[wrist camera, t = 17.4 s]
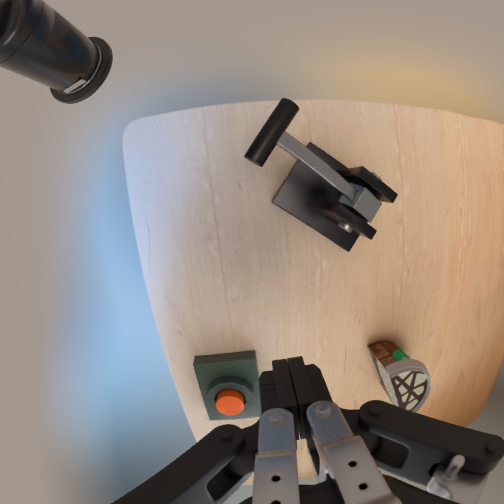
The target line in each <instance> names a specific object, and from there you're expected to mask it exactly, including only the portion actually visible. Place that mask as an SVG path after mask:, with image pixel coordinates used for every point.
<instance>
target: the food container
mask: <svg viewBox="0 0 504 504" xmlns="http://www.w3.org/2000/svg"><path fill="white" fill-rule="evenodd" d="M367 347H368V349H369V352H370V355H371V358H372V360H373V363H374V366H375V369H376V372H377V375H378V378H379V381H380V383H381V385H382V387H383V388H384V390H385V392H386V393H387V395H388V397H389V398H390V400H391V402H392V403H393V405H395V406H398V407H401V408H403V409H406V410H409V411H412V412H415V413H416V412H417V411H418V410H419V409H420V408H421V407H422V405H423V404H424V403H425V401H426V399H427V397H428V395H429V393H430V389H431V381H430V375H429V373H428V371H427V368H426V367H425V365H424V364H423V363H422V362H420V361H418V360H414V359H411V358H410V357H409V356H407V355H406V354H405V353H404V352H403V351H402V350H401V349H400V348H399V347H397V346H396V345H395V344H394V343H392V342H389V341H379V342H375V343H372V344H370V345H368V346H367Z"/></svg>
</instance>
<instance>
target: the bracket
mask: <svg viewBox="0 0 504 504" xmlns="http://www.w3.org/2000/svg"><path fill="white" fill-rule="evenodd" d="M306 148H308V149H309V150H310V151H311V152H313V153H314V154H315V155H316V156H318V157H319V158H320V159H321V160H323V161H324V162H325V163H326V164H327V165H329V166H330V167H331V168H332V169H333V170H334V171H336V172H337V173H338V174H339V175H340V176H341V177H343V178H344V179H345V180H346V181H347V182H348V183H353V184H356V185H359V186H362V187H365V188H367V189H368V190H369V191H370V192H371V193H372V194H373V195H374V196H375V197H376V198H377V199H378V200H379V201H382V202H389V203H393V202H394V201H395V199H396V197H397V195H398V194H397V193H396V192H394V191H393V190H392V189H391V188H390V187H388V186H387V185H386V184H385V183H383V182H382V181H381V178H380V177H379V176H377V175H376V174H374V173H371V172H370V171H368V170H367V169H366V168H364V167H363V166H362V167H355V168H349V169H348V168H347V167H346V166H344V165H343V164H341V163H340V162H339V161H337V160H336V159H334V158H333V157H331V156H330V155H329V154H327V153H326V152H324V151H323V150H321V149H320V148H318V147H317V146H315V145H314V144H312V143H311V142H309V143H308V144H307V146H306ZM341 196H342V195H341V194H340V193H339V192H338V191H336V190H335V189H334V188H333V187H332V186H330V185H329V184H328V183H327V182H325V181H324V180H323V179H322V178H320V177H319V176H318V175H316V174H315V173H314V172H313V171H311V170H310V169H309V168H307V167H306V166H305V165H303V164H302V163H301V162H299V161H298V160H297V161H296V163H295V165H294V166H293V168H292V169H291V171H290V173H289V174H288V176H287V177H286V179H285V181H284V182H283V184H282V185H281V187H280V189H279V190H278V192H277V193H276V195H275V197H274V198H273V200H272V203H274V204H276V205H277V206H279V207H280V208H282V209H284V210H285V211H287V212H288V213H290V214H291V215H293V216H295V217H296V218H298V219H299V220H301V221H302V222H304V223H306V224H307V225H309V226H310V227H312V228H313V229H315V230H316V231H318V232H319V233H321V234H322V235H324V236H325V237H327V238H328V239H330V240H331V241H333V242H334V243H336V244H337V245H339V246H340V247H342V248H343V249H345V250H346V251H348V252H349V251H350V249H351V248H352V246H353V245H354V243H355V242H356V240H357V238H358V237H359V235H362V236H364V237H366V238H368V239H371V240H372V238H373V237H374V235H375V233H376V232H377V230H375V229H374V228H373V227H371V226H370V225H369V224H367V222H368V221H366V220H364V219H362V218H360V217H358V216H357V215H355V214H354V213H352V212H351V211H350V210H348V209H347V208H346V207H345V206H344V205H342V204H341V203H340V202H339V200H340V198H341Z"/></svg>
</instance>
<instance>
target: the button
mask: <svg viewBox="0 0 504 504" xmlns="http://www.w3.org/2000/svg"><path fill="white" fill-rule="evenodd" d="M216 408H217V409H218V411H219V412H221V413H222V414H225V415H237V414H239V413H241V412H242V411H243V409H244V397H243V395H242V394H241V393H240V392H239V391H237V390H233V389H226V390H223V391H221V392H220V393H219V394H218V395H217V400H216Z"/></svg>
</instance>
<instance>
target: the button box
mask: <svg viewBox="0 0 504 504" xmlns="http://www.w3.org/2000/svg"><path fill="white" fill-rule="evenodd" d="M193 366H194V370H195V373H196V377H197V380H198V383H199V387H200V390H201V393H202V397H203V400H204V403H205V406H206V409H207V413H208V416H209V419H210V420H228V419H241V418H251V417H261V401H260V388H259V373H258V367H257V361H256V354H255V351H246V352H238V353H228V354H218V355H206V356H195V359H194V362H193ZM226 389H233V390H237V391H239V392H240V393H241V394H242V395H243V397H244V409H243V411H242V412H241V413H239V414H237V415H225V414H222V413H221V412H219V411H218V409H217V408H216V400H217V395H218V394H219V393H220V392H221V391H223V390H226Z"/></svg>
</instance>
